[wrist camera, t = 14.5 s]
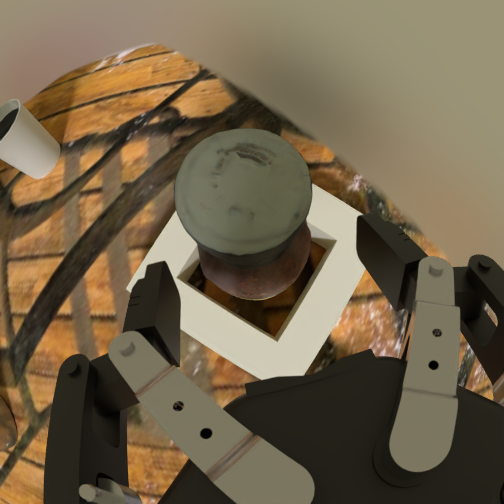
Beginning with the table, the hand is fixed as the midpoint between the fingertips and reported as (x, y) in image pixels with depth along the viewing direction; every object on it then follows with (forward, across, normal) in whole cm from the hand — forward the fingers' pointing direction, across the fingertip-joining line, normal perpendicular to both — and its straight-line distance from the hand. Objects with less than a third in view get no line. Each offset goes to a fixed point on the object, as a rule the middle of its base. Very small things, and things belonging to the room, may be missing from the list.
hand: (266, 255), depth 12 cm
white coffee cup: (+27, +24, -4) cm, 36 cm away
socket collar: (+12, 0, +10) cm, 16 cm away
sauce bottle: (+12, 0, +10) cm, 16 cm away
